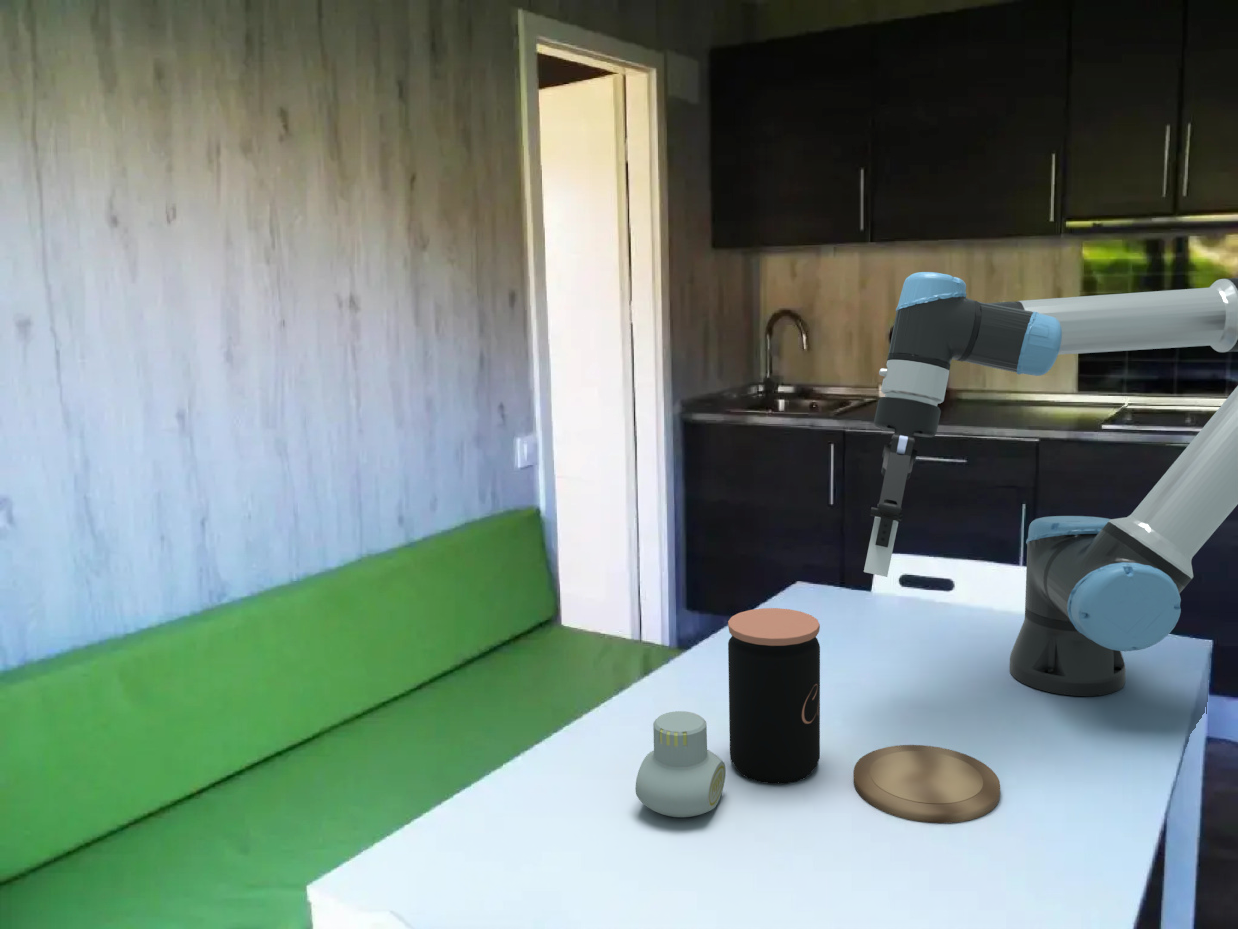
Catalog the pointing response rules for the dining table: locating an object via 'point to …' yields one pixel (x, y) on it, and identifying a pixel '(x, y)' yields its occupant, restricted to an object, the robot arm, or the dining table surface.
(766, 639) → the coffee jar
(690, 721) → the air freshener
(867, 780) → the trivet
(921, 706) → the dining table surface
